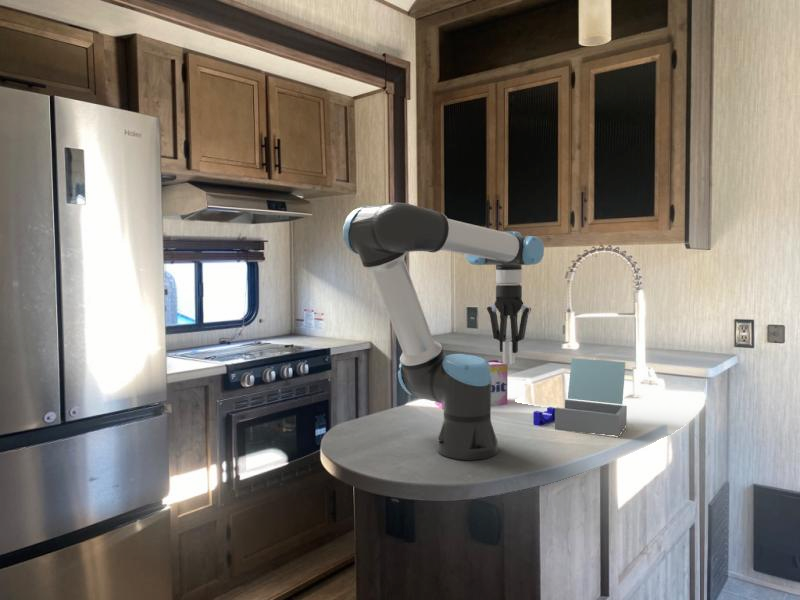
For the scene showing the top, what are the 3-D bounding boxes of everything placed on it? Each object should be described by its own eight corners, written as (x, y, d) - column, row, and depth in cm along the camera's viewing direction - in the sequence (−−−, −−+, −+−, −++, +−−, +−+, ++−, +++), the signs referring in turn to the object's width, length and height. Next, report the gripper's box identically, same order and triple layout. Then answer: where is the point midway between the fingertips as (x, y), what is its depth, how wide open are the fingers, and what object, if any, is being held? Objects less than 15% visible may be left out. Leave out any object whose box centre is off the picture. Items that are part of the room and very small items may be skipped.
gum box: (438, 410, 191) (437, 367, 190) (430, 404, 198) (430, 363, 198) (508, 404, 197) (508, 363, 196) (498, 399, 204) (498, 359, 203)
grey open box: (618, 437, 159) (618, 415, 159) (554, 429, 168) (554, 408, 167) (626, 426, 169) (626, 405, 169) (565, 419, 178) (565, 399, 177)
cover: (625, 362, 173) (625, 362, 173) (571, 358, 180) (572, 358, 181) (621, 404, 170) (622, 404, 171) (567, 398, 178) (568, 398, 178)
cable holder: (545, 419, 179) (545, 405, 179) (555, 421, 177) (555, 408, 176) (529, 424, 174) (529, 410, 174) (539, 426, 171) (539, 412, 171)
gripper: (536, 283, 177) (536, 363, 179) (490, 283, 185) (490, 359, 186) (528, 285, 171) (528, 367, 173) (481, 284, 178) (481, 363, 180)
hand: (508, 363), depth 179 cm, fingers closed
